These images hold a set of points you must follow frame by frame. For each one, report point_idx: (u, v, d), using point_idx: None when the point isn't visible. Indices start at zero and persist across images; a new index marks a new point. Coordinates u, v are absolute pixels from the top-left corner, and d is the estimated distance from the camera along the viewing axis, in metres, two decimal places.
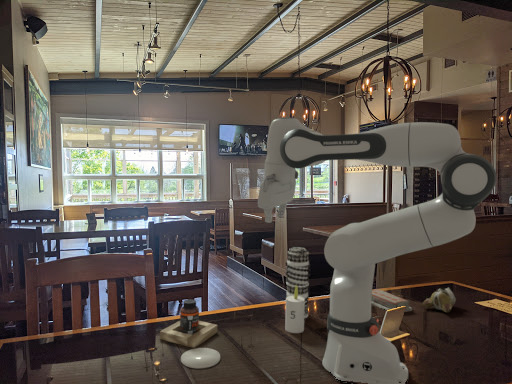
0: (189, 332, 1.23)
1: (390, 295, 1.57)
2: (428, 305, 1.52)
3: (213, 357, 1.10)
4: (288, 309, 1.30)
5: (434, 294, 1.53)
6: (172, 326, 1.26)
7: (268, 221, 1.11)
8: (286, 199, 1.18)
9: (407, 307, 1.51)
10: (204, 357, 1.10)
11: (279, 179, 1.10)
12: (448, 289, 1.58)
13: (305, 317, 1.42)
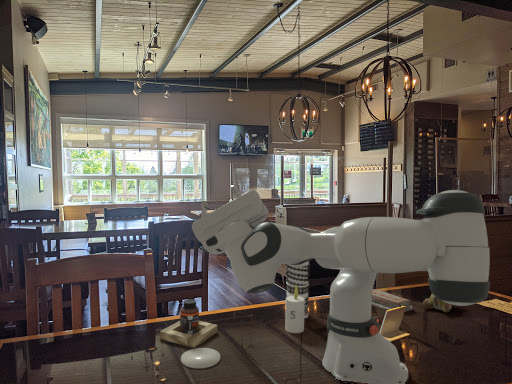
0: (189, 332, 1.23)
1: (390, 295, 1.57)
2: (428, 305, 1.52)
3: (213, 357, 1.10)
4: (288, 309, 1.30)
5: None
6: (172, 326, 1.26)
7: (235, 186, 1.08)
8: (212, 215, 1.05)
9: (408, 306, 1.52)
10: (204, 357, 1.10)
11: (245, 222, 1.01)
12: None
13: (305, 317, 1.42)
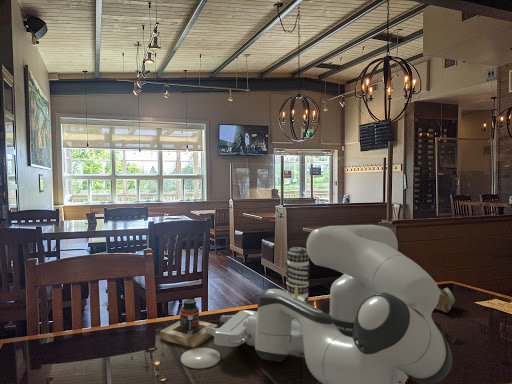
0: (189, 332, 1.23)
1: None
2: None
3: (213, 357, 1.10)
4: None
5: None
6: (172, 326, 1.26)
7: (207, 331, 1.16)
8: None
9: None
10: (204, 357, 1.10)
11: (247, 340, 1.13)
12: (447, 289, 1.58)
13: None
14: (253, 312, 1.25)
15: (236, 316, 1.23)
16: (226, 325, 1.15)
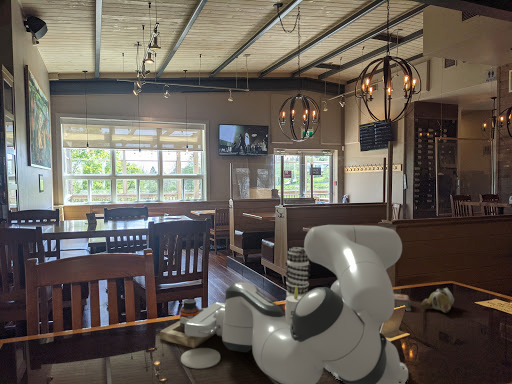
0: None
1: None
2: (427, 305, 1.52)
3: (213, 357, 1.10)
4: (288, 309, 1.30)
5: (433, 294, 1.53)
6: (172, 326, 1.26)
7: (181, 321, 1.21)
8: None
9: None
10: (204, 357, 1.10)
11: (216, 331, 1.17)
12: (446, 289, 1.57)
13: None
14: None
15: (209, 308, 1.27)
16: (197, 316, 1.19)
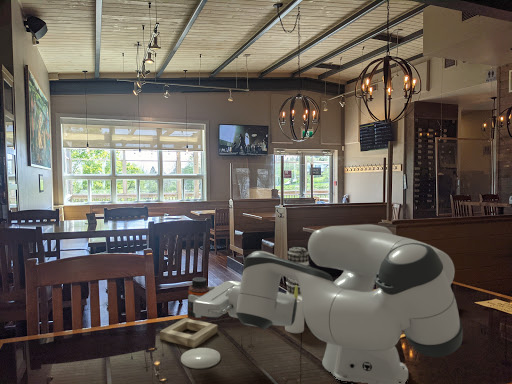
0: None
1: None
2: None
3: (213, 357, 1.10)
4: None
5: None
6: (172, 326, 1.26)
7: (189, 299, 1.08)
8: None
9: None
10: (204, 357, 1.10)
11: (229, 311, 1.04)
12: None
13: None
14: (239, 283, 1.16)
15: (220, 286, 1.14)
16: (208, 294, 1.06)
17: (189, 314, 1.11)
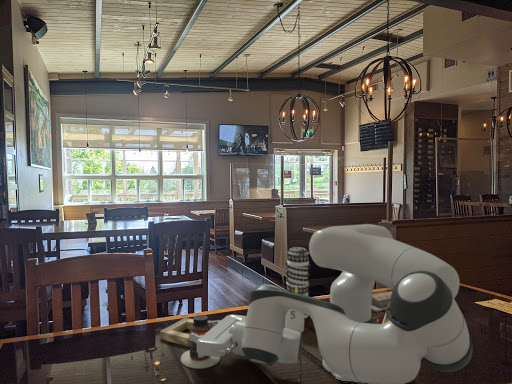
0: None
1: (386, 293, 1.59)
2: None
3: (213, 357, 1.10)
4: None
5: None
6: (172, 326, 1.26)
7: (190, 338, 1.05)
8: None
9: None
10: None
11: (233, 349, 1.02)
12: None
13: (305, 317, 1.42)
14: (241, 317, 1.14)
15: (223, 321, 1.12)
16: (211, 332, 1.04)
17: (191, 354, 1.08)
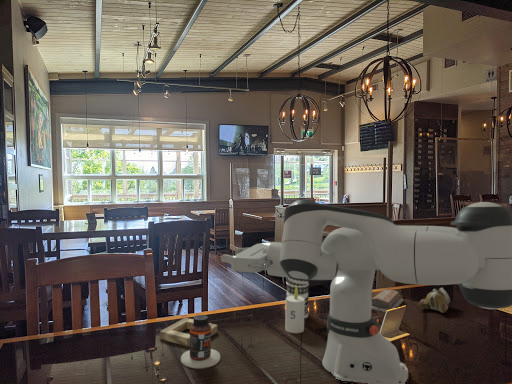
0: (200, 353, 1.07)
1: (384, 293, 1.59)
2: (424, 306, 1.51)
3: (213, 357, 1.10)
4: (288, 309, 1.30)
5: (430, 295, 1.52)
6: (172, 326, 1.26)
7: (222, 259, 1.03)
8: None
9: None
10: None
11: (267, 268, 1.00)
12: (442, 289, 1.58)
13: (305, 317, 1.42)
14: None
15: (253, 247, 1.10)
16: (244, 252, 1.02)
17: (191, 354, 1.08)
